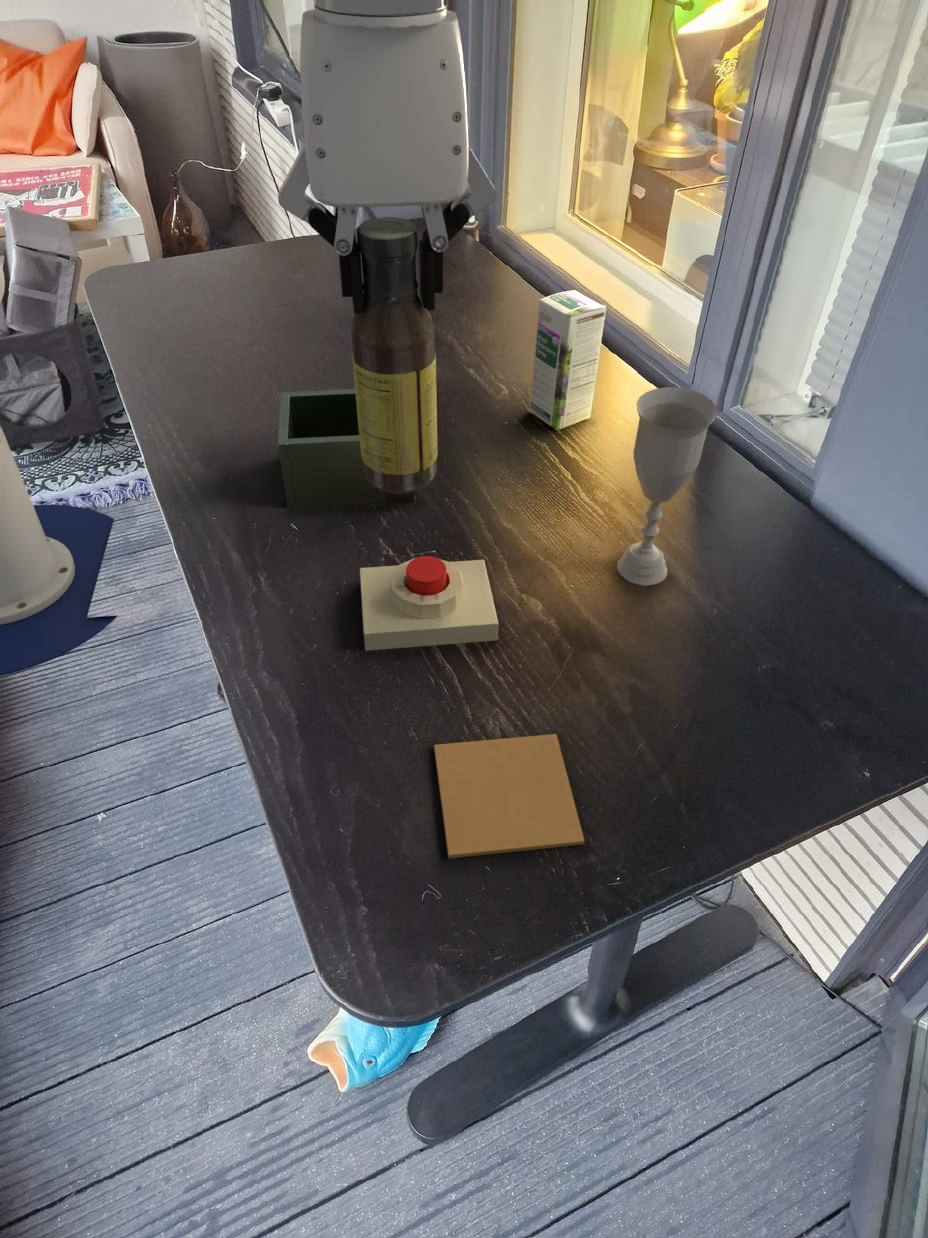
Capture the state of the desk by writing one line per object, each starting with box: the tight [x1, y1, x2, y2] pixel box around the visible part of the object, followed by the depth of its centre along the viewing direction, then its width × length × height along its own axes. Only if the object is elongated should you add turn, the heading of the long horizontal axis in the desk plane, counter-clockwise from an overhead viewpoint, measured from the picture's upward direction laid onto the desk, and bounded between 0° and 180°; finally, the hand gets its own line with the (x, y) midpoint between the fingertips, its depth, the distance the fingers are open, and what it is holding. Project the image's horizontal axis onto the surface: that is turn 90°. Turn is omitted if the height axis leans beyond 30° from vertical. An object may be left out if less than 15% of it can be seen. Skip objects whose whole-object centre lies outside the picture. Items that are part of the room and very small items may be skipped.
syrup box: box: [528, 289, 607, 431], centre depth 101 cm, size 6×6×14 cm
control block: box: [359, 557, 499, 651], centre depth 78 cm, size 12×9×4 cm
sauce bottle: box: [350, 216, 439, 494], centre depth 64 cm, size 6×6×20 cm
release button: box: [406, 555, 446, 596], centre depth 77 cm, size 4×4×2 cm
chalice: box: [616, 386, 718, 586], centre depth 79 cm, size 7×7×18 cm
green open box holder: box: [277, 388, 415, 509], centre depth 91 cm, size 14×11×12 cm
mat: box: [433, 733, 585, 859], centre depth 65 cm, size 10×10×1 cm
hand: (392, 301), depth 60 cm, fingers closed on sauce bottle, 4 cm apart
